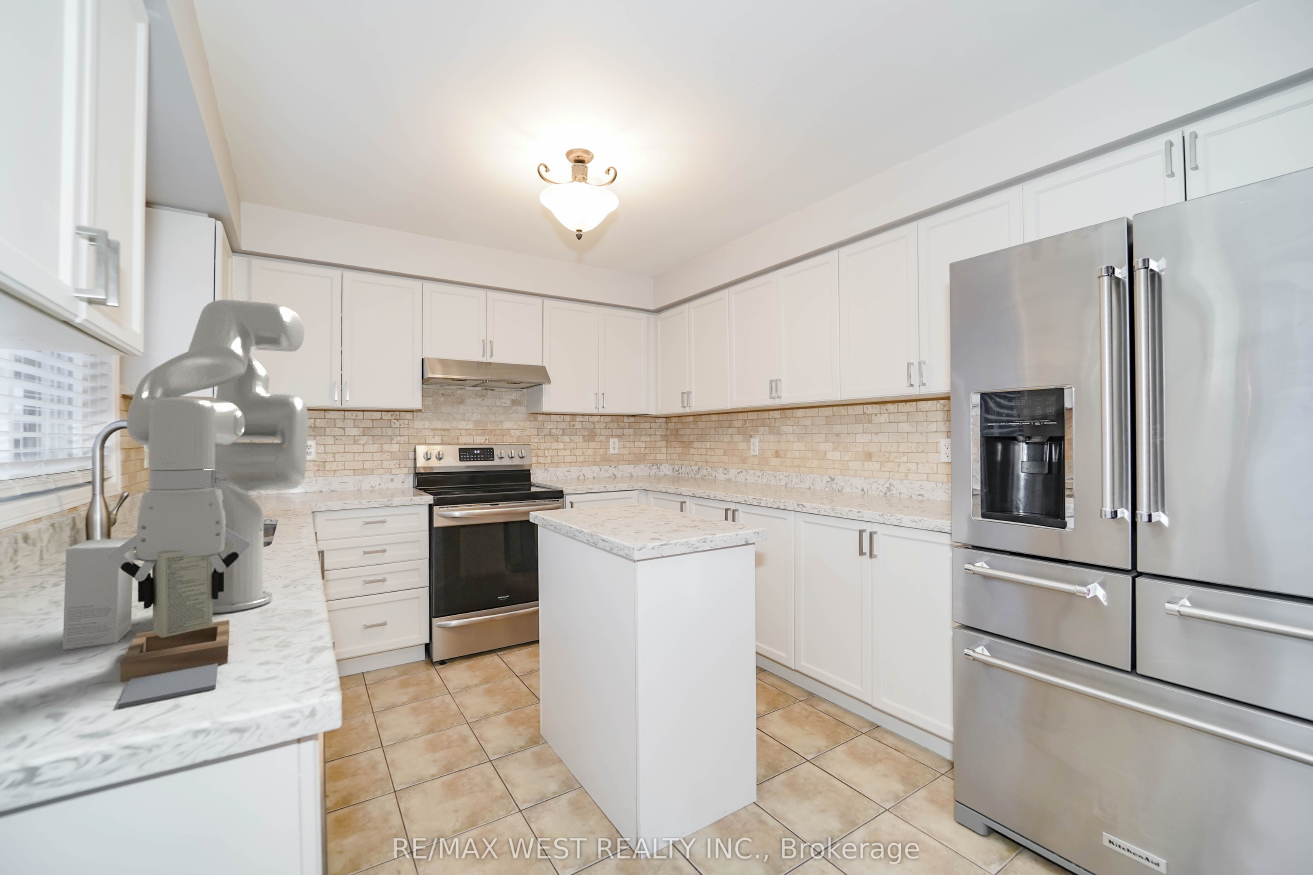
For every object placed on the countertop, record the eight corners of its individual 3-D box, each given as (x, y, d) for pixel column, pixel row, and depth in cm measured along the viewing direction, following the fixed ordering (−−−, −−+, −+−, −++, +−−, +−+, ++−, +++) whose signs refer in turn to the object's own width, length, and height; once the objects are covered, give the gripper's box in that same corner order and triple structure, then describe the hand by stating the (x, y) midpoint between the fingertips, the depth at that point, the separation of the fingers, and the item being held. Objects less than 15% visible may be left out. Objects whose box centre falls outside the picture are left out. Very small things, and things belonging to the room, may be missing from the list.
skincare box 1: (82, 635, 93) (83, 540, 93) (135, 628, 96) (136, 536, 97) (60, 651, 86) (62, 547, 86) (119, 643, 89) (120, 543, 89)
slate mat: (130, 682, 74) (130, 678, 74) (217, 666, 79) (217, 663, 79) (118, 707, 67) (118, 703, 67) (215, 688, 72) (215, 684, 72)
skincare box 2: (203, 621, 88) (203, 542, 88) (213, 627, 85) (214, 546, 85) (150, 632, 83) (150, 549, 83) (159, 639, 80) (159, 553, 80)
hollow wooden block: (136, 649, 86) (136, 633, 86) (229, 635, 93) (229, 619, 93) (120, 682, 74) (120, 662, 74) (227, 662, 81) (227, 644, 81)
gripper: (254, 477, 92) (254, 587, 92) (106, 482, 82) (106, 605, 82) (255, 480, 86) (255, 597, 86) (96, 486, 76) (96, 619, 76)
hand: (182, 600), depth 84 cm, fingers closed on skincare box 2, 7 cm apart
